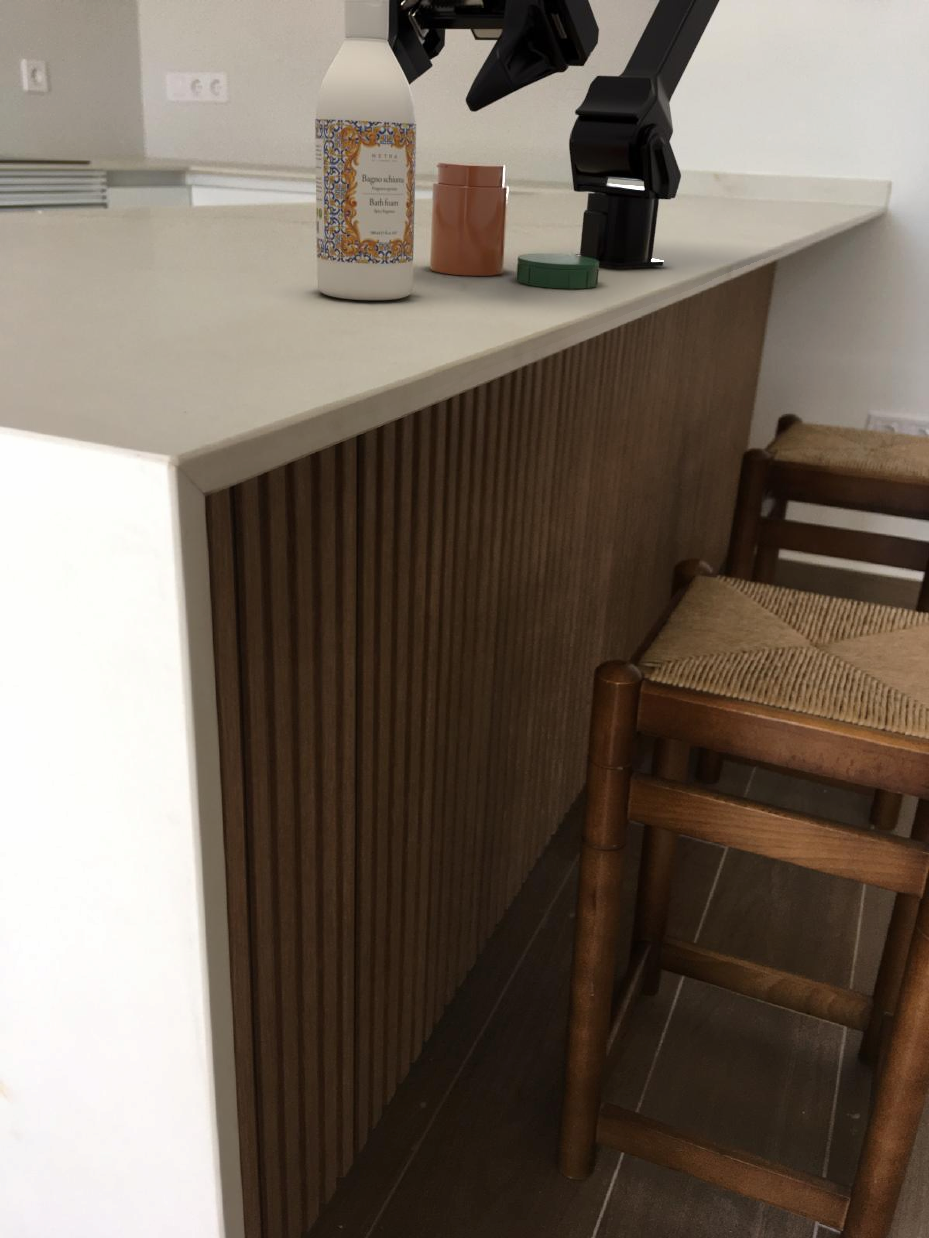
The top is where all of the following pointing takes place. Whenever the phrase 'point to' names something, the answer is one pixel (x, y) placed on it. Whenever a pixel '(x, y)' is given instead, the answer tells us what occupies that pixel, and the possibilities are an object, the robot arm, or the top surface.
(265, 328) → the top surface
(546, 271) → the lid
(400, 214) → the bath foam
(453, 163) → the jar
